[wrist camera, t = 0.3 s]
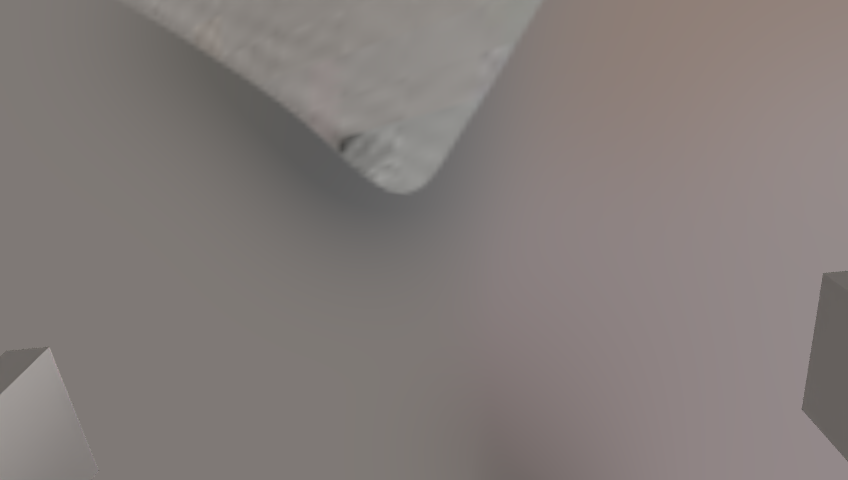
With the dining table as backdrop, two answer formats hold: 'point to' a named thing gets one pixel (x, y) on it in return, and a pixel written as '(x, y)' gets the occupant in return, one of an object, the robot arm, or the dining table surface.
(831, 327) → the robot arm
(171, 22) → the dining table surface
